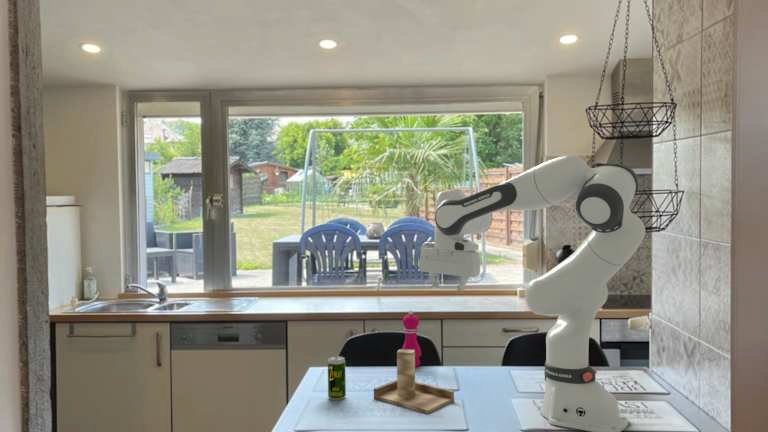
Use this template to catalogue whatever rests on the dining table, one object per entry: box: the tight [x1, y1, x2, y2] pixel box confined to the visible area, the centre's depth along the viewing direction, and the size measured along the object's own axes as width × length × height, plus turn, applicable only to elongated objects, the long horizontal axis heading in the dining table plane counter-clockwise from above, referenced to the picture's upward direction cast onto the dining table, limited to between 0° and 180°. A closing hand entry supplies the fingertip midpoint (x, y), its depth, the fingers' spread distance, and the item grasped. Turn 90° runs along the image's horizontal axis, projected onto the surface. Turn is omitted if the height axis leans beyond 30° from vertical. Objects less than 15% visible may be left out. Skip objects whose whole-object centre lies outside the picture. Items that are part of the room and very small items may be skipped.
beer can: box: [327, 356, 347, 401], centre depth 171 cm, size 5×5×12 cm
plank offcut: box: [396, 348, 416, 396], centre depth 171 cm, size 5×4×13 cm
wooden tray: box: [373, 379, 455, 415], centre depth 168 cm, size 20×13×3 cm, turn 49°
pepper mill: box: [401, 310, 422, 368], centre depth 205 cm, size 7×7×20 cm
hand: (447, 289), depth 169 cm, fingers open, 8 cm apart
